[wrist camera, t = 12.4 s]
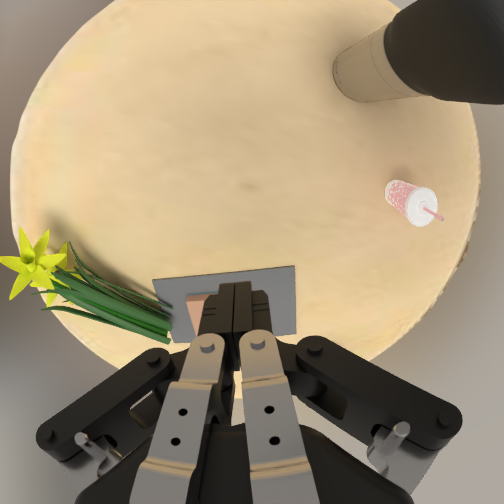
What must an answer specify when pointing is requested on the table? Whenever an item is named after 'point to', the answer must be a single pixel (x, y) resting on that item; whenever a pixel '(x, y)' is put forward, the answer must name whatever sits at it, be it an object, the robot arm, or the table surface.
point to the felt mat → (177, 289)
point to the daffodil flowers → (83, 290)
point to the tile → (197, 307)
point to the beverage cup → (413, 202)
